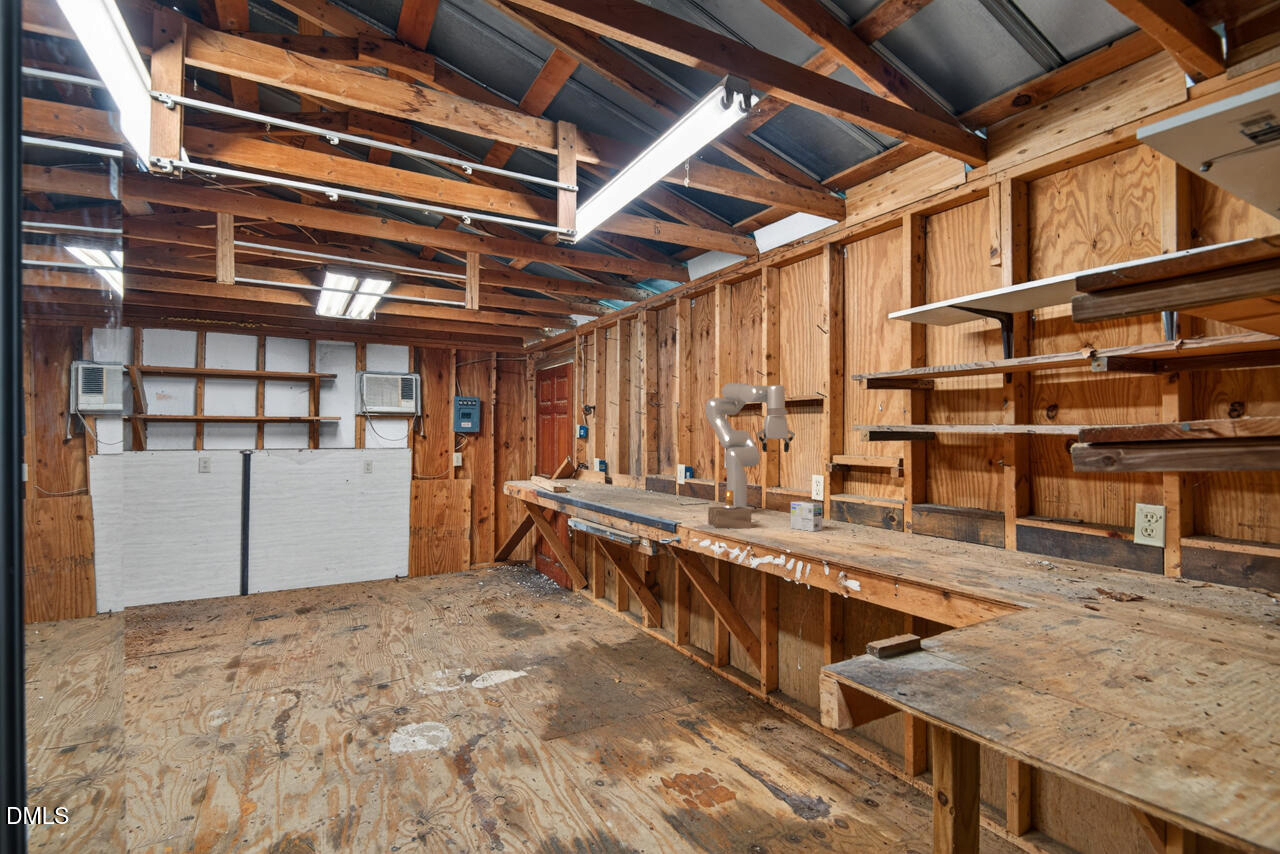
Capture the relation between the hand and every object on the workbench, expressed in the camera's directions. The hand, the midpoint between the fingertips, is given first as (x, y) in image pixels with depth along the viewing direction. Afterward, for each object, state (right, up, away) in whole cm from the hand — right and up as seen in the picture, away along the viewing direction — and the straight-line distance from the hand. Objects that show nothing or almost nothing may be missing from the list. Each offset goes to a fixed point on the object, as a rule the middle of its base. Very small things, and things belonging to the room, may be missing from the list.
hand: (775, 452), depth 262 cm
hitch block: (-23, -30, -18) cm, 41 cm away
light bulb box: (+6, -30, -25) cm, 40 cm away
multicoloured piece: (-23, -29, -18) cm, 41 cm away
